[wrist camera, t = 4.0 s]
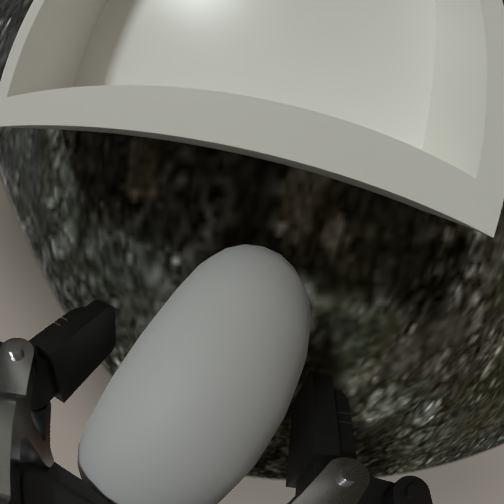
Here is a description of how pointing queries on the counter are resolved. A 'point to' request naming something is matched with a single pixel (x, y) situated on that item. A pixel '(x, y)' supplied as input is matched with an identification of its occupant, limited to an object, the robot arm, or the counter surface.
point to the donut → (201, 384)
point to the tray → (284, 87)
